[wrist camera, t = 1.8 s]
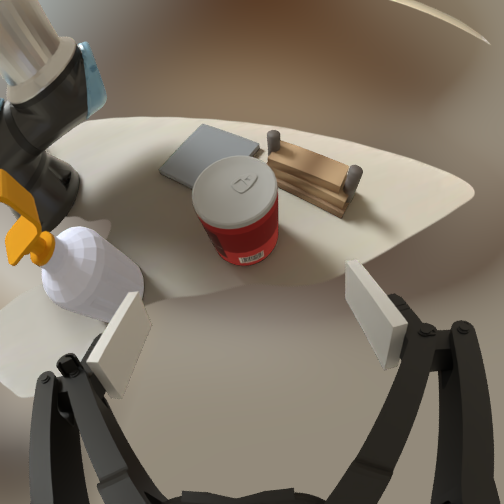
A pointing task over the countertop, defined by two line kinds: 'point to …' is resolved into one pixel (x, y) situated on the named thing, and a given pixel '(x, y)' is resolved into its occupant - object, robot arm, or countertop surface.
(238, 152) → the slate mat
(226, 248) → the canned food
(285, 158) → the offcut rack
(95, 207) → the countertop surface
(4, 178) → the soap bottle
